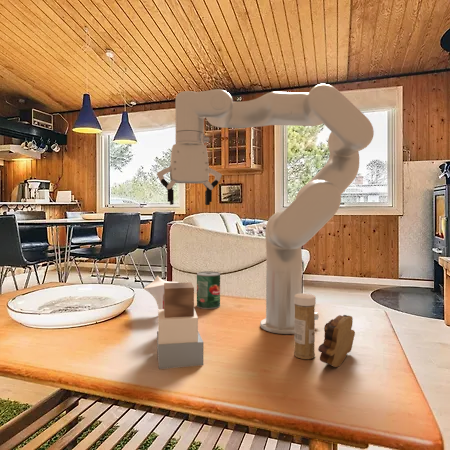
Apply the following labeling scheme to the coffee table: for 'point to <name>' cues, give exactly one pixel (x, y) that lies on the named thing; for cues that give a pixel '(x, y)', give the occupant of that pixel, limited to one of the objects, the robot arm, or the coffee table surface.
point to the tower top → (177, 329)
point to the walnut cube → (178, 300)
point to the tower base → (180, 354)
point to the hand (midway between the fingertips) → (189, 204)
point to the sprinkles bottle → (304, 325)
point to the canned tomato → (208, 290)
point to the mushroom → (157, 290)
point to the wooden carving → (337, 340)
